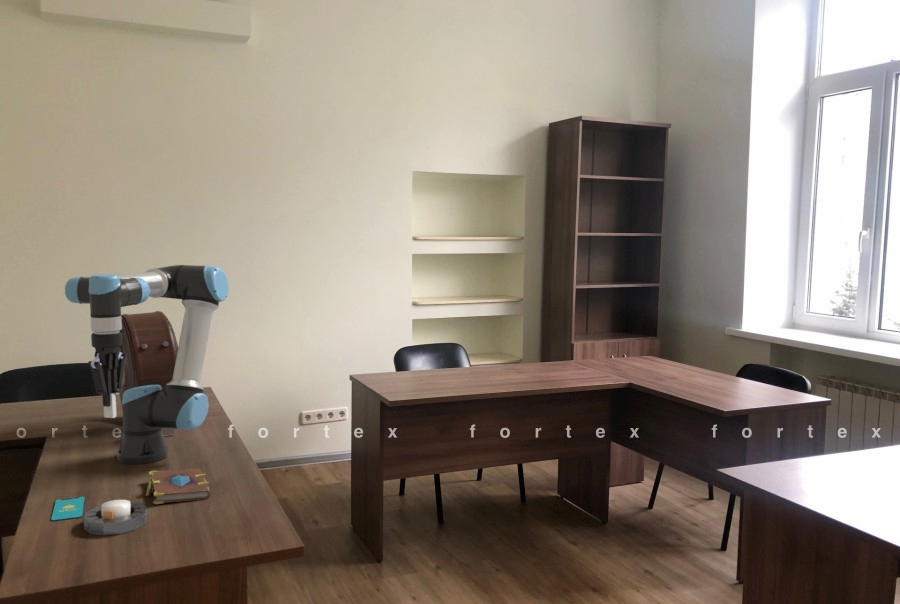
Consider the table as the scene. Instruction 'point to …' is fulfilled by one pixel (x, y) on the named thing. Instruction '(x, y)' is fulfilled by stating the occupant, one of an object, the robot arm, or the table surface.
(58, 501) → the smartphone
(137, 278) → the robot arm
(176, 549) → the table surface
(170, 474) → the book
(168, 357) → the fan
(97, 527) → the faceted grey ring
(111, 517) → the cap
